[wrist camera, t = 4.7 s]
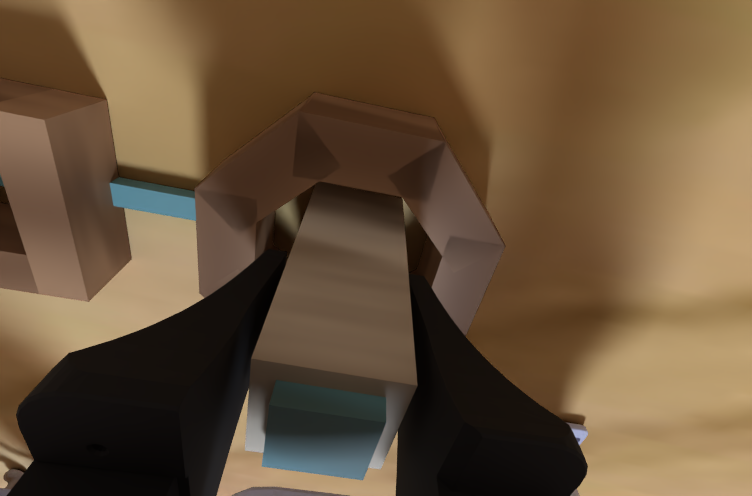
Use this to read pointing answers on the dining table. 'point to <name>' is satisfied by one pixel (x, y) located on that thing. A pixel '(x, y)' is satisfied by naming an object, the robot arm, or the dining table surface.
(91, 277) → the threaded bead
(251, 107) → the dining table surface
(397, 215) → the brown and teal block
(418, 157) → the brown faceted ring
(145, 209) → the light blue thin bar
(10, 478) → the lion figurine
